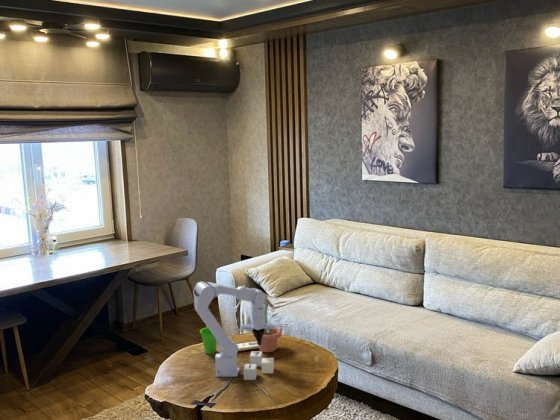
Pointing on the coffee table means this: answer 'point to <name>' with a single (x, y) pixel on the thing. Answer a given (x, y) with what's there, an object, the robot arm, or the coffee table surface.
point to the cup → (208, 340)
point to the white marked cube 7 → (256, 357)
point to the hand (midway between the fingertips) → (259, 344)
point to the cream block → (267, 365)
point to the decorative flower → (269, 333)
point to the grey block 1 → (250, 371)
